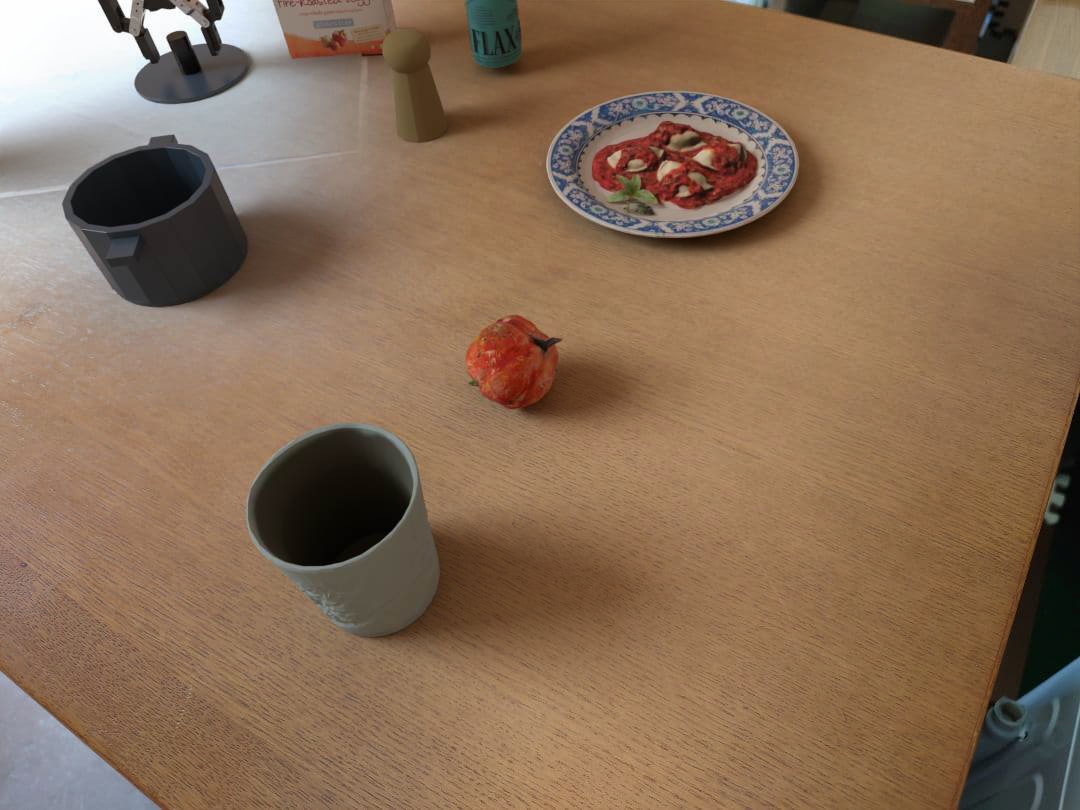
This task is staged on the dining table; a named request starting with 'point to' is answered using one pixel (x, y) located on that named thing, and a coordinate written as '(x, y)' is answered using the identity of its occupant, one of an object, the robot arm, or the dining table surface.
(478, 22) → the beverage bottle
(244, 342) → the dining table surface
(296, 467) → the grey green cup
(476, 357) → the pomegranate
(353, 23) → the cracker box
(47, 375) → the dining table surface
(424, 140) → the olive peg figure
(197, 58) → the lid
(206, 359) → the dining table surface
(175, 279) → the pot
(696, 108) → the ceramic plate
